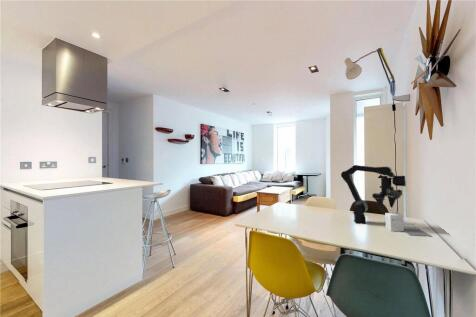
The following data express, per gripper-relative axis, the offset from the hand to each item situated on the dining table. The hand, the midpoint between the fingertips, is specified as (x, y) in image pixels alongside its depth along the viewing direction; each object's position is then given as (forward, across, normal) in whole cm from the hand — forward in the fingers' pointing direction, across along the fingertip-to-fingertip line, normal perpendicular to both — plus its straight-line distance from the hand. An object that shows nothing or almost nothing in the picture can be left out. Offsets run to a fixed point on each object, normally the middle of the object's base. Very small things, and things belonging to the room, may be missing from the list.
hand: (386, 207), depth 139 cm
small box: (+13, -1, -6) cm, 14 cm away
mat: (+13, +8, -11) cm, 19 cm away
